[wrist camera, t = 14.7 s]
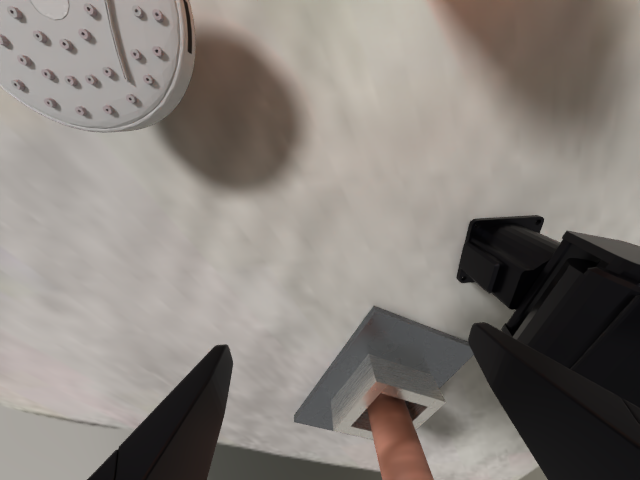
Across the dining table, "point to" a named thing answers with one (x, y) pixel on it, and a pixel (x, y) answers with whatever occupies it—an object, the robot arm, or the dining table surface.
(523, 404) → the robot arm
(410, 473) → the peg
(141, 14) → the showerhead
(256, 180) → the dining table surface
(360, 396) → the dock
